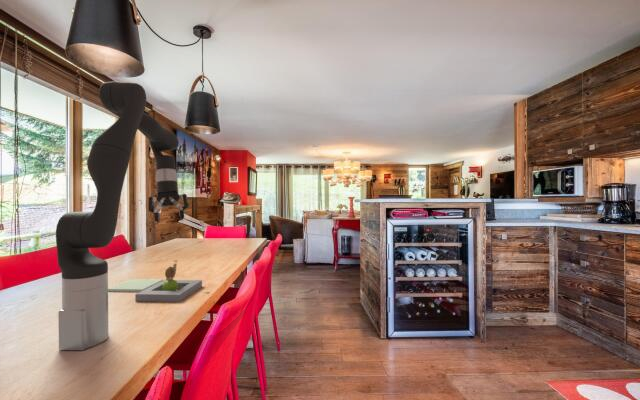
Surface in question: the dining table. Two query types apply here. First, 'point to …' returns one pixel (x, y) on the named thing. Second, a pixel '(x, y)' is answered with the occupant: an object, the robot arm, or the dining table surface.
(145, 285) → the green mat
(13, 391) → the dining table surface
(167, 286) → the snail figurine
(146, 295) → the gray square frame
